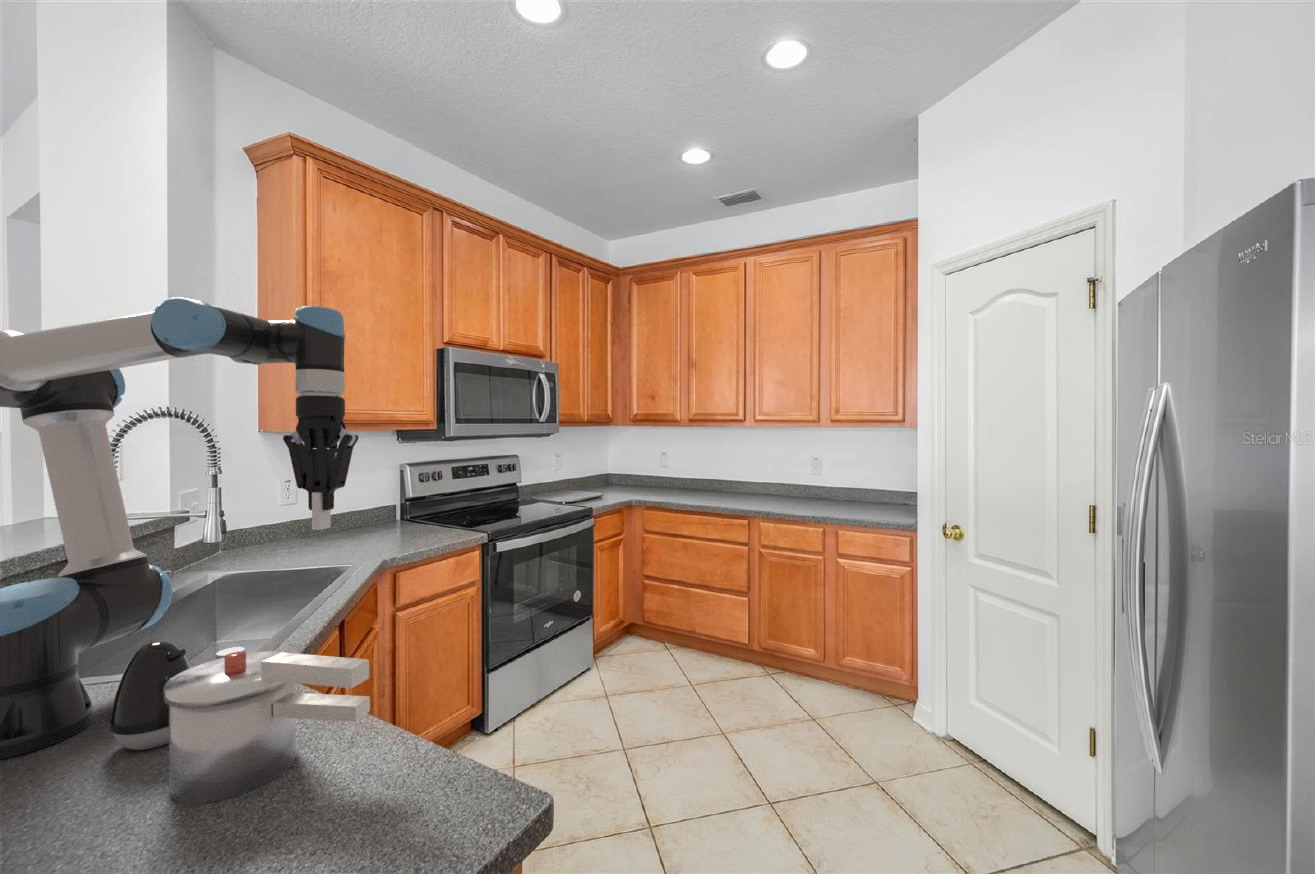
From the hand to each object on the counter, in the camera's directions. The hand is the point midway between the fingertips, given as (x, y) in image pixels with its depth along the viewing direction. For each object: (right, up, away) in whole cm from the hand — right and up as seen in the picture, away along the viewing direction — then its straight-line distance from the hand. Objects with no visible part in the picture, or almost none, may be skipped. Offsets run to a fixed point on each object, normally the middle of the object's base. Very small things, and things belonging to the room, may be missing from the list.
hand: (321, 528), depth 99 cm
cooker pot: (+7, -30, -22) cm, 38 cm away
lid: (+7, -18, -23) cm, 30 cm away
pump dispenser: (-17, -31, -13) cm, 38 cm away
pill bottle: (-14, -31, -3) cm, 34 cm away
